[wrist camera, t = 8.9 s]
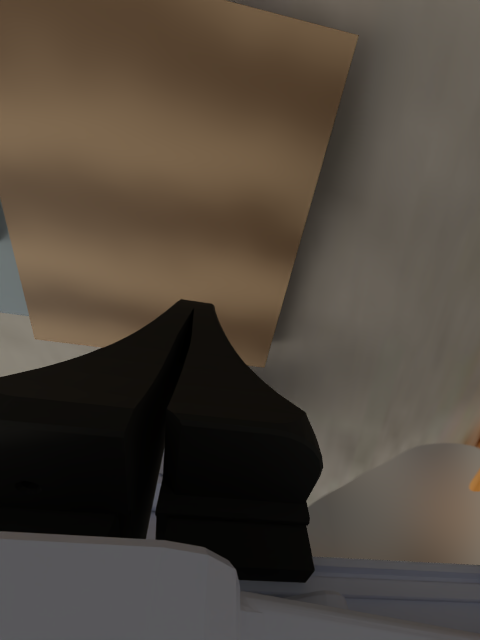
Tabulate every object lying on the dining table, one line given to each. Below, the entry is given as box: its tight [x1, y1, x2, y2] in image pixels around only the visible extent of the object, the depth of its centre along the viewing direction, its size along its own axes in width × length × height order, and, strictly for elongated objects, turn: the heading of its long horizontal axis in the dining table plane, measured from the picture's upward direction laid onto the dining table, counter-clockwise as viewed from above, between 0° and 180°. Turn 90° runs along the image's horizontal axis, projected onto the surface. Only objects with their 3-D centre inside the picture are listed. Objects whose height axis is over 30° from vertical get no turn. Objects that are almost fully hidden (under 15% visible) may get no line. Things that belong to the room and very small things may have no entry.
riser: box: [0, 0, 359, 367], centre depth 16 cm, size 18×16×3 cm
